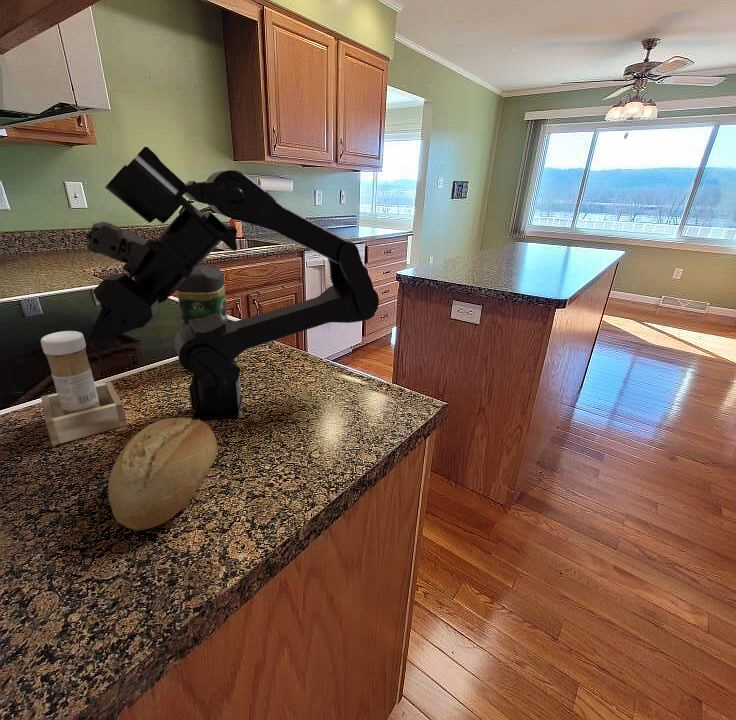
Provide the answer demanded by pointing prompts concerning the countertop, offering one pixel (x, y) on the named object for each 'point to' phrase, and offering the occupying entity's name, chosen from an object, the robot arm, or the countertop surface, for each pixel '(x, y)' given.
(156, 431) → the bread roll
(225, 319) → the coffee jar
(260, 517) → the countertop surface
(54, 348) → the sprinkles bottle
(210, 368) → the robot arm
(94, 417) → the guard collar
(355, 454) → the countertop surface
